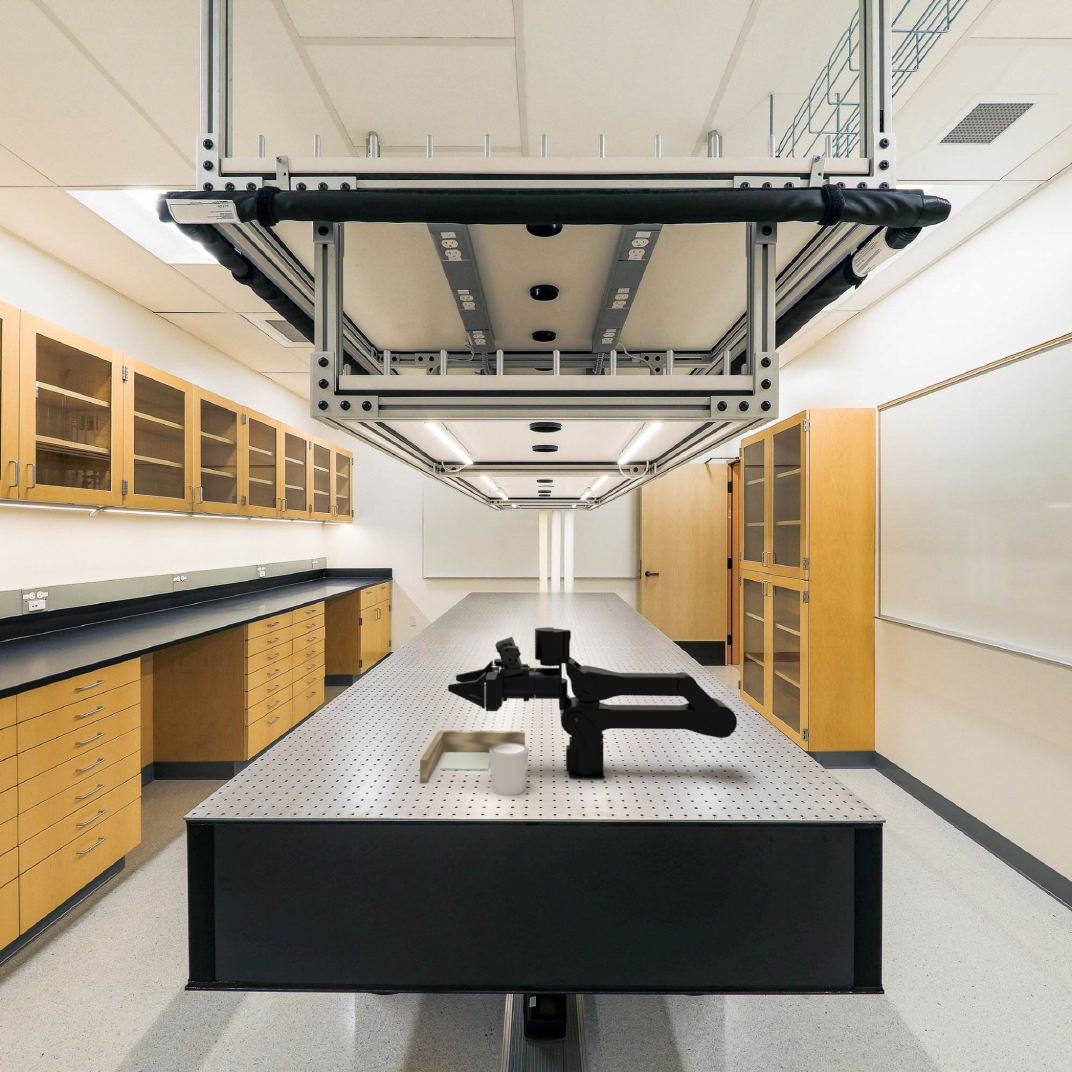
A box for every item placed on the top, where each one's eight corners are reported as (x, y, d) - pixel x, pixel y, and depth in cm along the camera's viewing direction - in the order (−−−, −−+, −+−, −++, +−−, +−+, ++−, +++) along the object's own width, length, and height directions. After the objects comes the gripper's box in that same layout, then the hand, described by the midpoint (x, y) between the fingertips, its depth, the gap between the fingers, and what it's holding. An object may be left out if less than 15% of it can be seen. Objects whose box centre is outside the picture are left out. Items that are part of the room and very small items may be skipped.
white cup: (507, 778, 109) (507, 739, 109) (536, 787, 104) (536, 747, 104) (480, 789, 103) (481, 748, 103) (510, 800, 99) (510, 757, 99)
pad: (492, 754, 121) (492, 753, 121) (487, 770, 112) (487, 768, 112) (448, 753, 121) (448, 752, 122) (440, 769, 112) (440, 768, 113)
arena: (524, 750, 124) (524, 731, 124) (520, 784, 106) (520, 761, 106) (438, 749, 124) (439, 730, 124) (419, 782, 106) (420, 760, 106)
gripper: (535, 634, 122) (459, 633, 122) (533, 647, 103) (443, 647, 103) (535, 688, 121) (459, 688, 122) (533, 712, 103) (443, 711, 103)
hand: (452, 682), depth 112 cm, fingers open, 9 cm apart
